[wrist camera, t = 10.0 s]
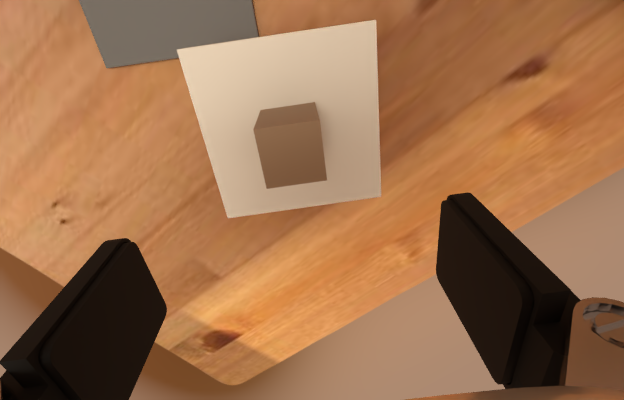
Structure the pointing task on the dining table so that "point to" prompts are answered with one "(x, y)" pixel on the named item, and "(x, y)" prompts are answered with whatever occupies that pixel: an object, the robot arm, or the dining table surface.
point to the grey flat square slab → (164, 26)
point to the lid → (289, 117)
